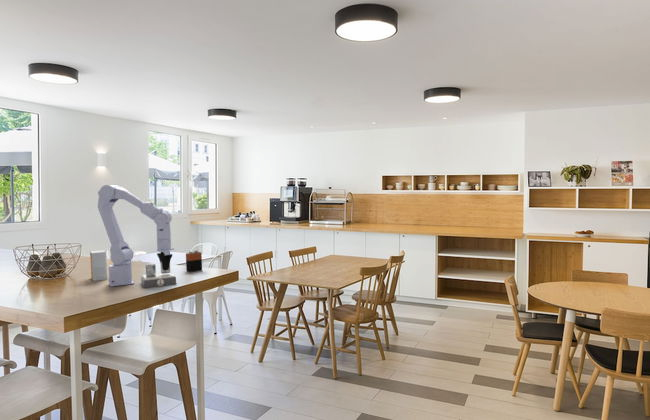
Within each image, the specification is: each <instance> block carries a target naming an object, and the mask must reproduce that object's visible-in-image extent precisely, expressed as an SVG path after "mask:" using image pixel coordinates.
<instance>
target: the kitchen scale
mask: <svg viewBox="0 0 650 420" xmlns="http://www.w3.org/2000/svg"><path fill="white" fill-rule="evenodd" d="M140 284H141V285H142V287H143V288H144V289H145V288H146V289H147V288H154V287H161V286H162V287H163V286H170V285H171V286H172V285H177V277H176V276H175V275H174V274H173V273H172V272H171V271H170V273H165V274H162V273H161V272H160V273H156V276H155V277H146V274H141V276H140Z"/></svg>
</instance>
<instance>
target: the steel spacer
mask: <svg viewBox="0 0 650 420" xmlns="http://www.w3.org/2000/svg"><path fill="white" fill-rule="evenodd" d="M170 272H171V264H170V265H169V270H163V267H162V262H161V264H160V273H162V274H165V273H170Z"/></svg>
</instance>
